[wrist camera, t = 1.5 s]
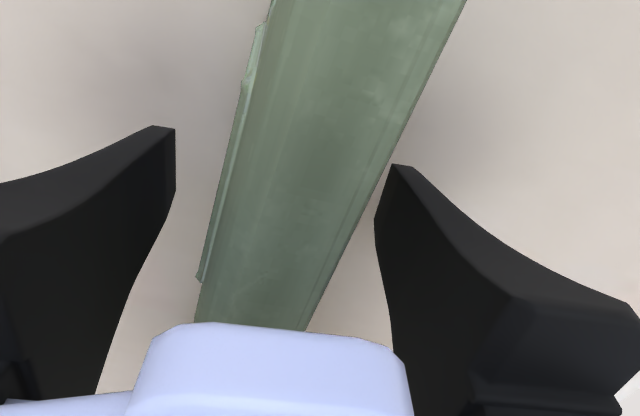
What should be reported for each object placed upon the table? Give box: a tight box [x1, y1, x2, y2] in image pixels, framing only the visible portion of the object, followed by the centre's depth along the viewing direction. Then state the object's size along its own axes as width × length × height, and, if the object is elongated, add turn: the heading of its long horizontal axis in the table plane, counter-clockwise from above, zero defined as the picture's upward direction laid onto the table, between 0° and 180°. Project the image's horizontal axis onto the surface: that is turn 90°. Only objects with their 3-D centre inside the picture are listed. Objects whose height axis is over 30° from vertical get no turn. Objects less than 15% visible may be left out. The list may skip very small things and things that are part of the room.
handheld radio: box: [194, 0, 467, 332], centre depth 12 cm, size 7×3×25 cm
